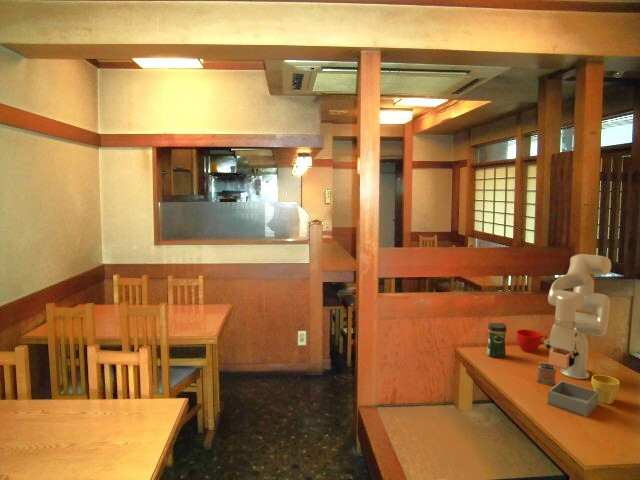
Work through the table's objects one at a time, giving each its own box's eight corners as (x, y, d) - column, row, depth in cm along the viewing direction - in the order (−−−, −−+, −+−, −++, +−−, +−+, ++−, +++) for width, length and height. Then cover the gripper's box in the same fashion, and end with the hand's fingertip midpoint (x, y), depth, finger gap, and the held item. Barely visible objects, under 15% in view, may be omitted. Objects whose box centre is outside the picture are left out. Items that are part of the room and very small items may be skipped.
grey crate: (560, 392, 200) (561, 380, 199) (597, 405, 189) (598, 392, 188) (547, 403, 190) (548, 390, 189) (586, 417, 179) (587, 403, 178)
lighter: (554, 382, 211) (555, 362, 209) (555, 385, 207) (557, 365, 206) (535, 380, 213) (537, 360, 212) (536, 383, 210) (538, 363, 209)
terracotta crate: (557, 359, 196) (558, 346, 196) (574, 364, 191) (575, 350, 190) (548, 364, 191) (549, 351, 190) (565, 369, 185) (566, 356, 184)
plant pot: (591, 392, 201) (593, 372, 199) (619, 399, 194) (621, 378, 193) (588, 401, 193) (590, 380, 192) (616, 408, 186) (618, 387, 185)
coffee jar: (503, 353, 247) (504, 321, 245) (506, 358, 239) (508, 325, 237) (485, 352, 248) (486, 320, 246) (488, 357, 241) (490, 325, 238)
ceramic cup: (551, 354, 245) (553, 337, 244) (521, 354, 246) (522, 337, 244) (540, 346, 258) (541, 329, 257) (511, 345, 258) (512, 329, 257)
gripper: (590, 326, 184) (586, 366, 187) (547, 317, 197) (544, 354, 200) (583, 330, 179) (580, 371, 182) (540, 320, 192) (537, 359, 195)
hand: (561, 362), depth 191 cm, fingers closed on terracotta crate, 7 cm apart
